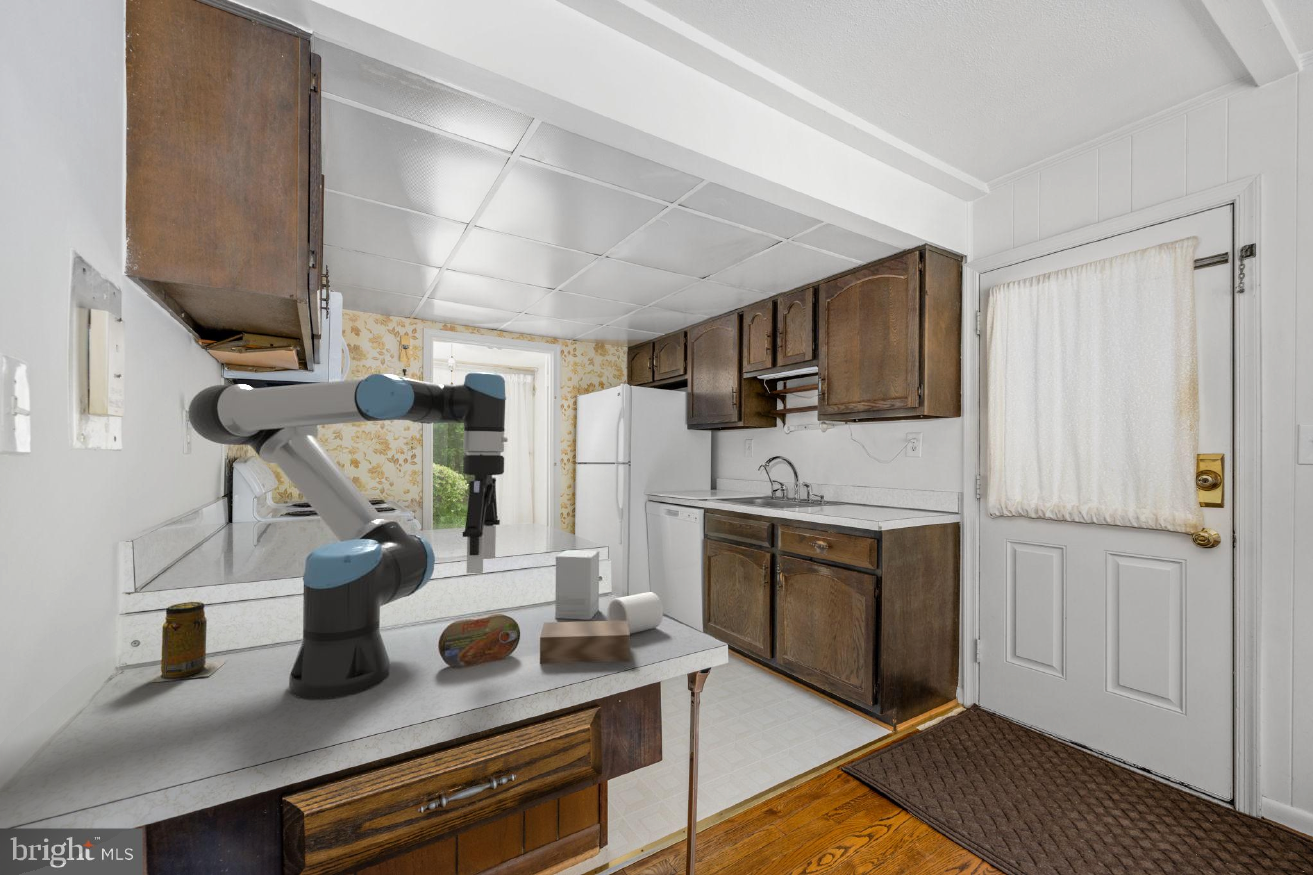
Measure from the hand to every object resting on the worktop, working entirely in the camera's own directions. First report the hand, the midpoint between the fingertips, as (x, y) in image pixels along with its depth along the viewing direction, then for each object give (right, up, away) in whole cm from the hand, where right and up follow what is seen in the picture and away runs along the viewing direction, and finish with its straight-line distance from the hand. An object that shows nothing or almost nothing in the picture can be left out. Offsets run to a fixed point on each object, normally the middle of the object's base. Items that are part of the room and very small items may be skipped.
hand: (481, 565), depth 107 cm
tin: (0, -19, 0) cm, 19 cm away
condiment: (-50, -18, -7) cm, 53 cm away
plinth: (+19, -19, +4) cm, 27 cm away
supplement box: (+14, -19, +31) cm, 39 cm away
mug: (+27, -19, +20) cm, 39 cm away
